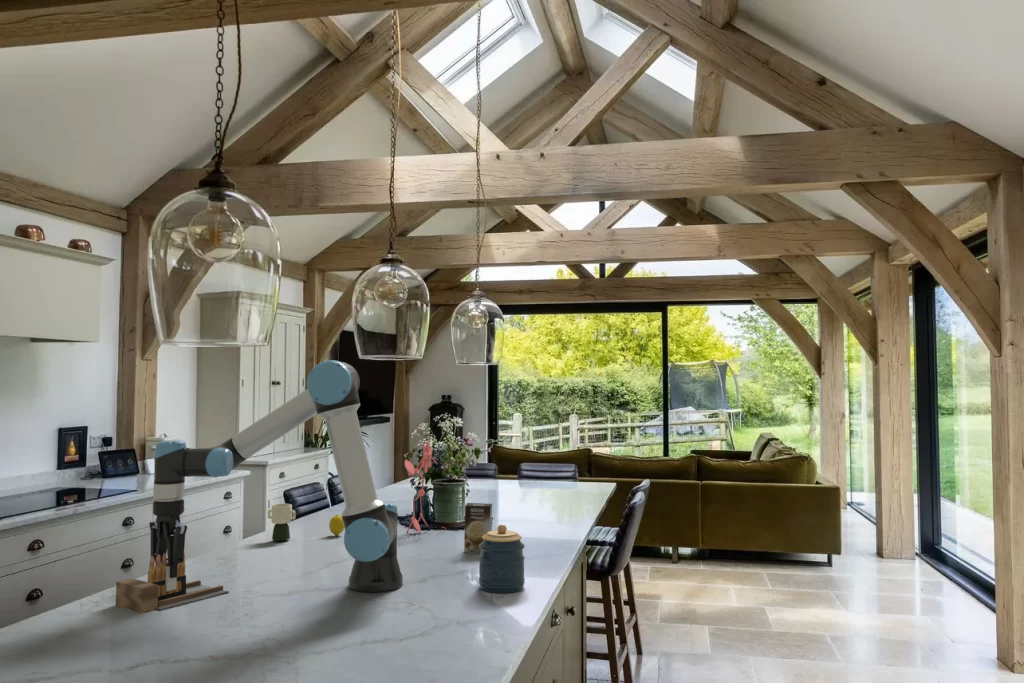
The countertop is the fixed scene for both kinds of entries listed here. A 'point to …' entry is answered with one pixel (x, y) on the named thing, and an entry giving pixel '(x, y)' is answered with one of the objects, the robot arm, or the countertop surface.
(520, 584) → the canister
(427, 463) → the figurine
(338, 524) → the lemon
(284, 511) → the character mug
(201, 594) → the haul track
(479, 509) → the coffee box
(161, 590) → the ammunition clip
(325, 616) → the countertop surface
